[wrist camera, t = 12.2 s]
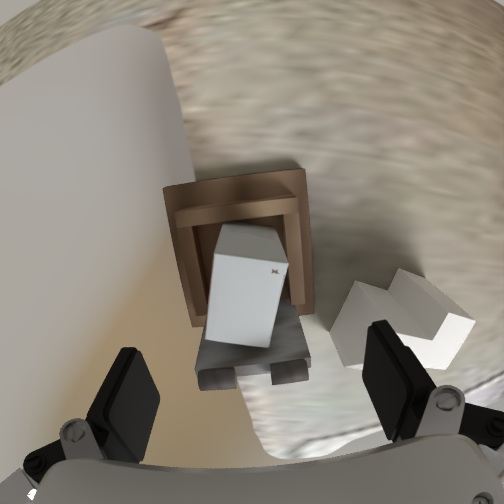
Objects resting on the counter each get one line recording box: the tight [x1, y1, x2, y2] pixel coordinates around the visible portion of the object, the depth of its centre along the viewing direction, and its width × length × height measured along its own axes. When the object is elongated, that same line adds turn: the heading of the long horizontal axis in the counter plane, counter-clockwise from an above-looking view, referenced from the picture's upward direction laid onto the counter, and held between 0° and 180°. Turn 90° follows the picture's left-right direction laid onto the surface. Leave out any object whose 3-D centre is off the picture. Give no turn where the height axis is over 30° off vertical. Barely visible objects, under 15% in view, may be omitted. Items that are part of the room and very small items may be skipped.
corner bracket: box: [329, 268, 476, 370], centre depth 31 cm, size 11×11×12 cm
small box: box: [204, 221, 289, 348], centre depth 27 cm, size 8×6×10 cm
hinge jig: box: [163, 168, 315, 391], centre depth 27 cm, size 15×17×14 cm
